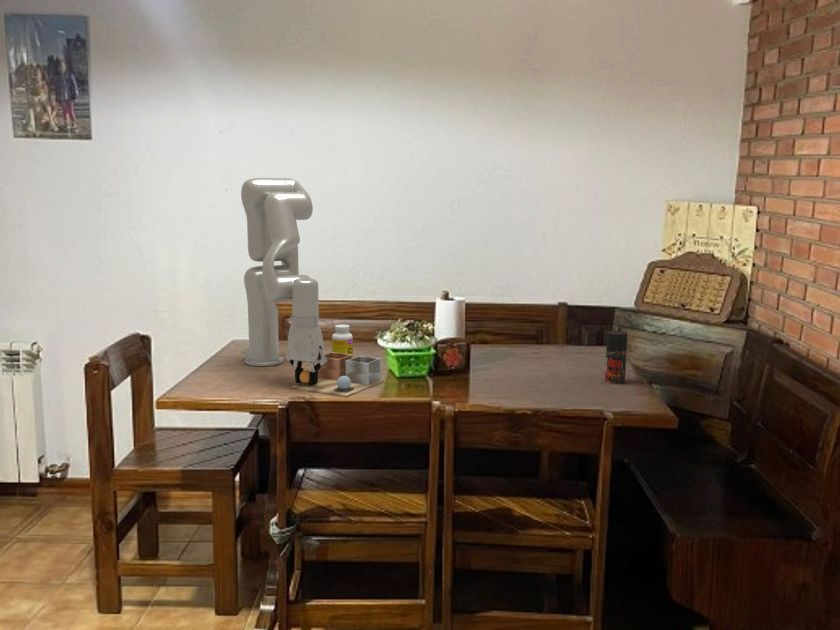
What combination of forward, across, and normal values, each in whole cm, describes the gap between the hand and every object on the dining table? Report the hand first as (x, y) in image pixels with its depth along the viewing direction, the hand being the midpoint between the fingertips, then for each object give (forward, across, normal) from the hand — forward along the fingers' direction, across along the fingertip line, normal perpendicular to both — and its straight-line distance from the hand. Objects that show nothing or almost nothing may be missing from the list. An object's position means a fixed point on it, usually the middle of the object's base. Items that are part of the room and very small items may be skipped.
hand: (306, 382), depth 237 cm
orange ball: (-2, 0, 0) cm, 2 cm away
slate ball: (-2, +13, 0) cm, 13 cm away
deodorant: (+1, +77, +51) cm, 92 cm away
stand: (+1, +7, +6) cm, 9 cm away
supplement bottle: (+1, -6, +28) cm, 29 cm away
